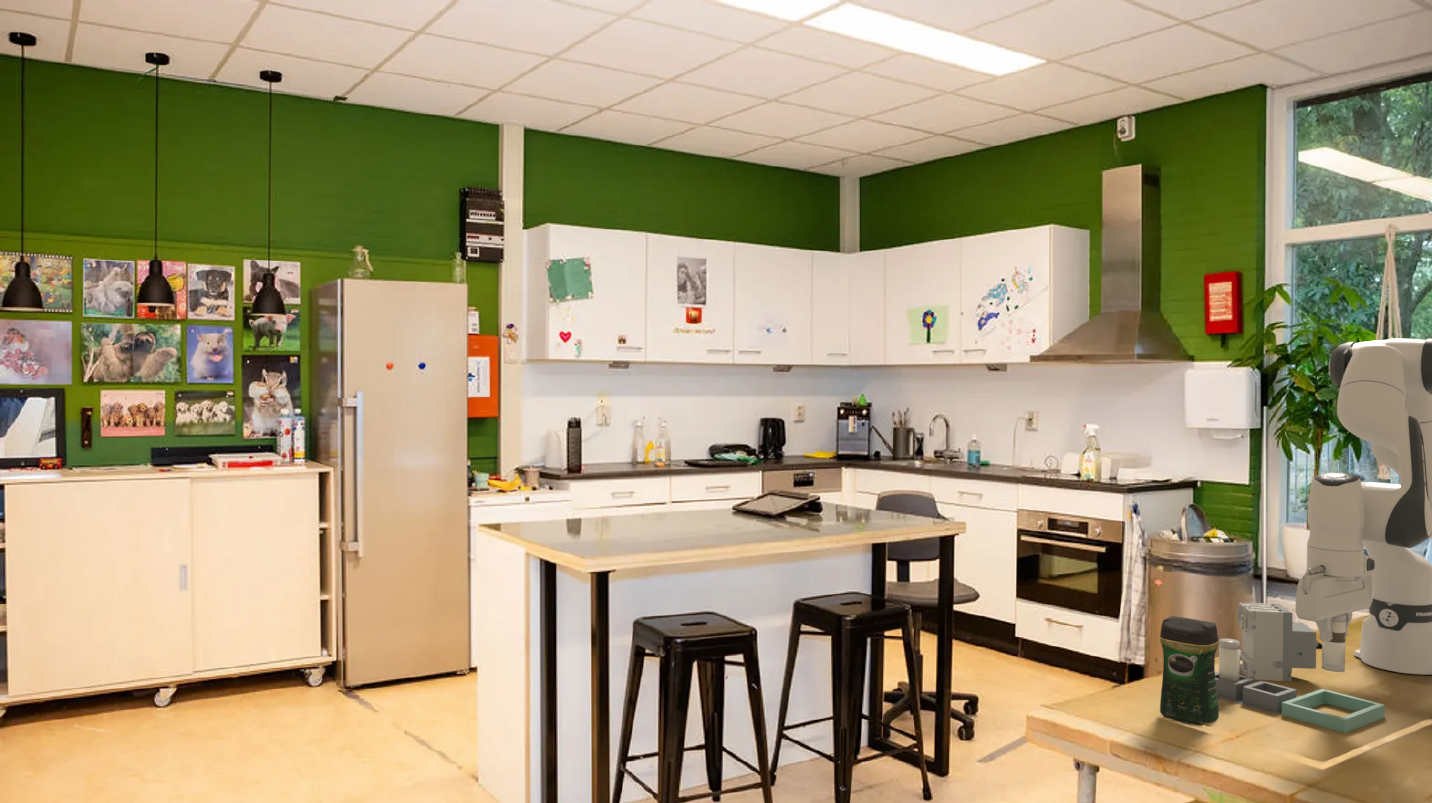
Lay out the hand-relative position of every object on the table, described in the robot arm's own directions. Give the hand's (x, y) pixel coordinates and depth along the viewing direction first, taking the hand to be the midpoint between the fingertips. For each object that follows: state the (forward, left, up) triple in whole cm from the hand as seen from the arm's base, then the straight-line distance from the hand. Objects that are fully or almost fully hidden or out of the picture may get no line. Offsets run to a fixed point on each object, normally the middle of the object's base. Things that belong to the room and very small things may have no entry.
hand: (1333, 638), depth 186 cm
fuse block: (+3, -14, -15) cm, 21 cm away
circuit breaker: (-16, -19, -16) cm, 29 cm away
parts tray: (0, 0, -15) cm, 15 cm away
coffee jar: (+20, -16, -16) cm, 30 cm away
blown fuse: (0, 0, -6) cm, 6 cm away
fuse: (+3, -18, -14) cm, 23 cm away
